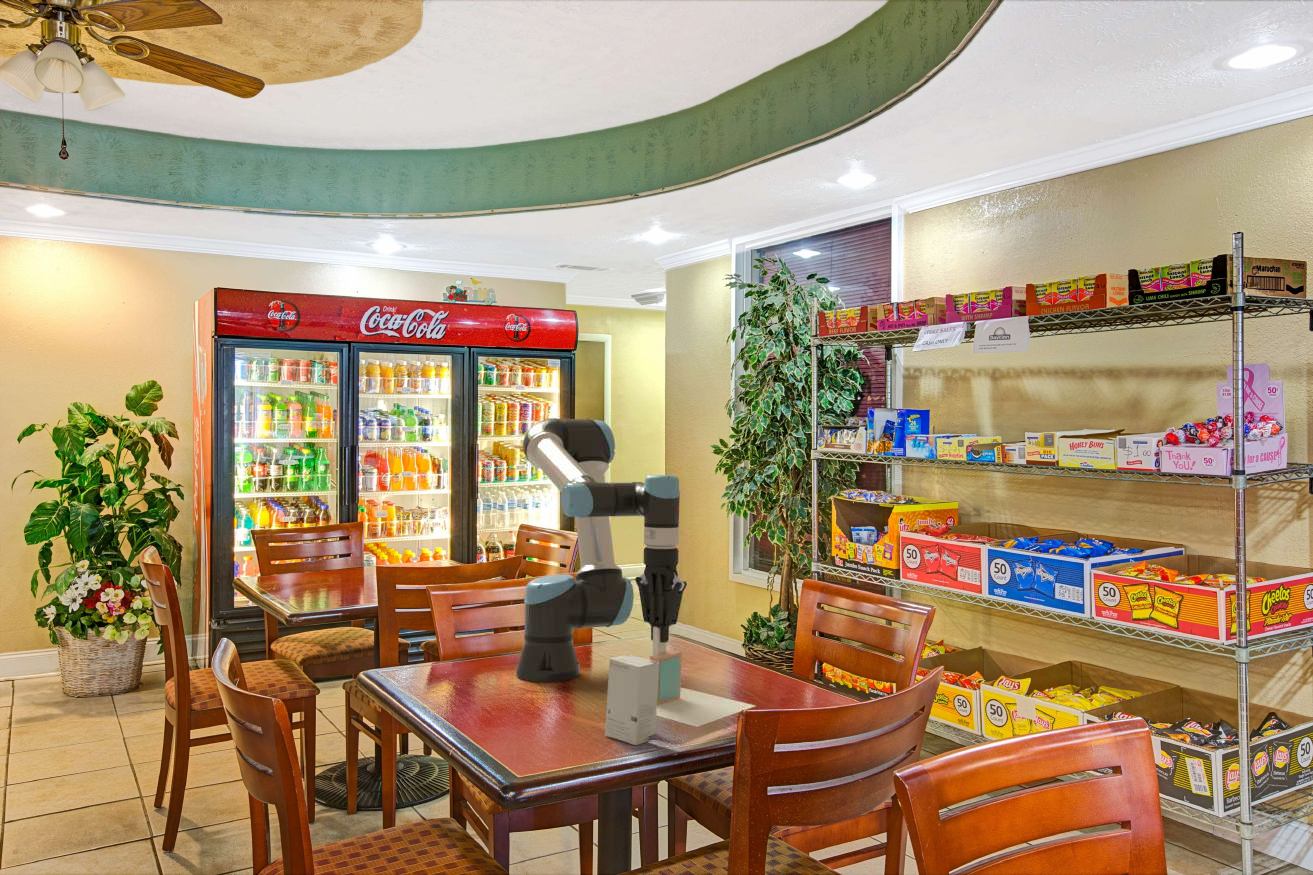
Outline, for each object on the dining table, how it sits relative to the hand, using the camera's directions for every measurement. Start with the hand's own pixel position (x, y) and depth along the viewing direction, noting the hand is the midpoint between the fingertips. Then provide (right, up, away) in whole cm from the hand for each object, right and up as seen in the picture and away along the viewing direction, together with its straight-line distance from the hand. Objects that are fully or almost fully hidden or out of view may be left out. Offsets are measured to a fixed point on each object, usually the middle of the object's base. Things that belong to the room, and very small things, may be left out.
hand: (659, 656), depth 191 cm
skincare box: (-5, -10, -23) cm, 25 cm away
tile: (+1, -9, -1) cm, 9 cm away
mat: (+5, -10, -3) cm, 12 cm away
